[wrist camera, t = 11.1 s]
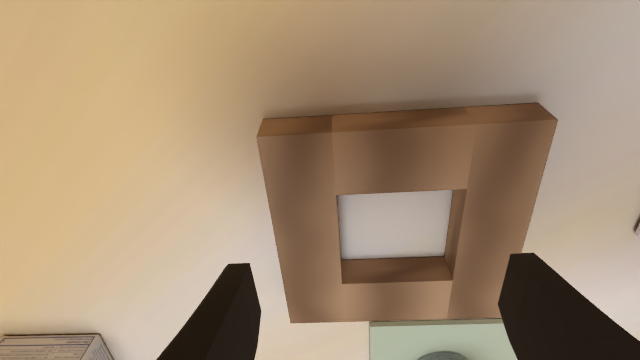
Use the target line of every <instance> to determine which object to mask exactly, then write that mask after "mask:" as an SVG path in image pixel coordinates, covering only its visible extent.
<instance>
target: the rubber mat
mask: <svg viewBox="0 0 640 360" xmlns="http://www.w3.org/2000/svg"><path fill="white" fill-rule="evenodd" d="M369 329H370V360H418V359H419V358H421V357H423V356H425V355H427V354H430V353H433V352H438V351H452V352H457V353H460V354H462V355H464V356H465V357H466V358H467V359H468V360H516V358H517V357H516V355H515V353H514V351H513V348H512V346H511V344H510V341H509V339H508V336H507V333H506V330H505V327H504V324H503V320H502V319H469V320H430V321H392V322H369Z"/></svg>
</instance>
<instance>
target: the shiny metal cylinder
mask: <svg viewBox="0 0 640 360" xmlns="http://www.w3.org/2000/svg"><path fill="white" fill-rule="evenodd" d="M418 360H468V359H467V358H466V357H465V356H464V355H462V354H460V353H457V352H452V351H438V352H433V353H430V354H427V355H425V356H423V357H421V358H419V359H418Z"/></svg>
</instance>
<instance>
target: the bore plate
mask: <svg viewBox="0 0 640 360" xmlns="http://www.w3.org/2000/svg"><path fill="white" fill-rule="evenodd" d="M557 121H558V119H557V118H555V117H554V116H553V115H552V114H551V113H549V112H548V111H547V110H546V109H545V108H543V107H542V106H541V105H540V104H539V103H525V104H509V105H492V106H476V107H459V108H443V109H426V110H410V111H393V112H376V113H360V114H343V115H327V116H310V117H294V118H277V119H263V121H262V124H261V126H260V129H259V132H258V135H257V142H258V148H259V153H260V158H261V164H262V169H263V175H264V180H265V186H266V191H267V197H268V202H269V208H270V213H271V219H272V224H273V230H274V235H275V240H276V246H277V251H278V257H279V262H280V268H281V273H282V279H283V284H284V290H285V295H286V301H287V306H288V312H289V317H290V322H291V323H318V322H356V321H394V320H432V319H470V318H502V317H501V314H500V310H499V307H498V301H499V297H500V293H501V289H502V285H503V281H504V277H505V273H506V269H507V265H508V262H509V258H510V254H516V253H521V252H522V248H523V245H524V241H525V237H526V234H527V230H528V226H529V223H530V219H531V216H532V212H533V208H534V205H535V201H536V197H537V194H538V190H539V187H540V183H541V179H542V176H543V172H544V168H545V165H546V161H547V158H548V154H549V150H550V147H551V143H552V139H553V136H554V132H555V129H556V125H557ZM435 190H453V195H452V203H451V211H450V218H449V226H448V233H447V241H446V248H445V256H443V257H416V258H389V259H361V260H341V249H340V233H339V217H338V202H337V195H350V194H371V193H392V192H414V191H435Z"/></svg>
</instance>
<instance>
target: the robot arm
mask: <svg viewBox="0 0 640 360" xmlns="http://www.w3.org/2000/svg"><path fill="white" fill-rule="evenodd" d="M636 235H637V236H638V237H639V238H640V223H639V226H638V228H637V230H636ZM498 307H499V310H500V314H501V317H502V320H503V324H504V327H505V330H506V333H507V336H508V339H509V341H510V344H511V346H512V348H513V351H514V353H515V355H516V357H517V359H518V360H640V341H638V340H637V339H636V338H634V337H633V336H632V335H631V334H629V333H628V332H627V331H625V330H624V329H623V328H622V327H620V326H619V325H618V324H617V323H615V322H614V321H613V320H612V319H610V318H609V317H608V316H607V315H606V314H604V313H603V312H602V311H601V310H600V309H598V308H597V307H596V306H595V305H594V304H592V303H591V302H590V301H589V300H588V299H586V298H585V297H584V296H583V295H582V294H581V293H579V292H578V291H577V290H576V289H575V288H574V287H572V286H571V285H570V284H569V283H568V282H567V281H566V280H564V279H563V278H562V277H561V276H560V275H559V274H558V273H556V272H555V271H554V270H553V269H552V268H551V267H550V266H548V265H547V264H546V263H545V262H544V261H543V260H542V259H540V258H539V257H538V256H537V255H536V254H534V253H516V254H510V258H509V262H508V265H507V269H506V273H505V277H504V281H503V285H502V289H501V293H500V297H499V301H498ZM260 317H261V308H260V304H259V300H258V296H257V292H256V288H255V283H254V279H253V275H252V271H251V267H250V263H242V264H228V265H227V266H226V267H225V269H224V270H223V272H222V273H221V275H220V276H219V278H218V279H217V280H216V282H215V283H214V285H213V286H212V288H211V289H210V291H209V292H208V294H207V295H206V296H205V298H204V299H203V301H202V302H201V303H200V305H199V306H198V307H197V309H196V310H195V312H194V313H193V314H192V316H191V317H190V318H189V320H188V321H187V322H186V324H185V325H184V326H183V328H182V329H181V330H180V331H179V333H178V334H177V335H176V336H175V338H174V339H173V340H172V341H171V342H170V344H169V345H168V346H167V347H166V349H165V350H164V351H163V352H162V353H161V355H160V356H159V357H158V358H157V360H254V358H255V354H256V349H257V343H258V335H259V326H260Z"/></svg>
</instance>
